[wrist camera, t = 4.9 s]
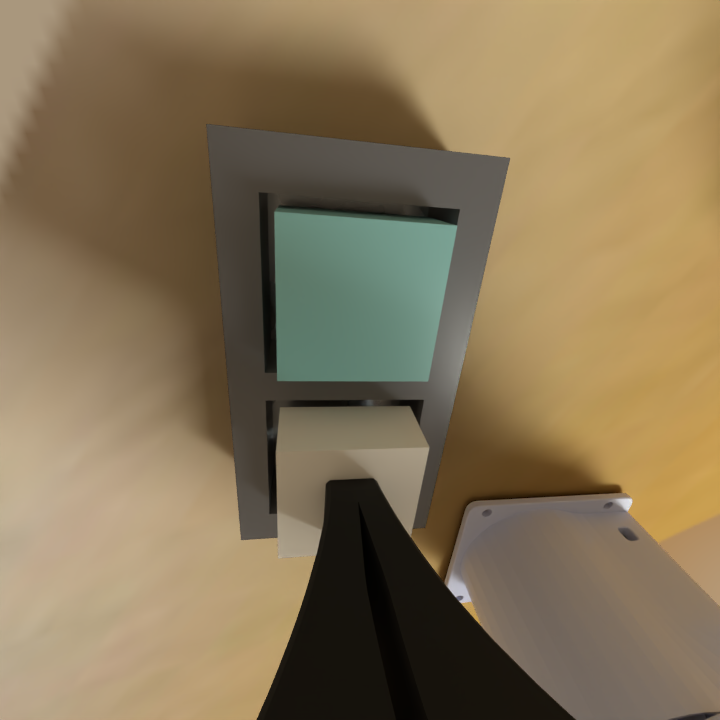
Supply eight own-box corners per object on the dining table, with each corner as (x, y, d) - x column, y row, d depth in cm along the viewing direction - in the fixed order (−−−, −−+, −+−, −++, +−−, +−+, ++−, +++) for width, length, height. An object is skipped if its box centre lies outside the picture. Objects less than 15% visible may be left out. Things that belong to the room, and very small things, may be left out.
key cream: (409, 406, 12) (429, 447, 10) (393, 499, 13) (408, 548, 12) (280, 407, 11) (275, 451, 9) (281, 504, 13) (278, 558, 11)
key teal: (429, 217, 10) (457, 225, 8) (409, 350, 12) (428, 381, 10) (279, 205, 9) (274, 211, 8) (280, 348, 11) (277, 381, 9)
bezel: (468, 162, 11) (510, 158, 9) (408, 481, 16) (425, 527, 14) (227, 135, 10) (206, 124, 8) (249, 489, 15) (241, 540, 13)
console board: (456, 162, 12) (468, 162, 11) (403, 466, 17) (408, 481, 16) (233, 139, 11) (227, 135, 10) (252, 471, 16) (249, 489, 15)
